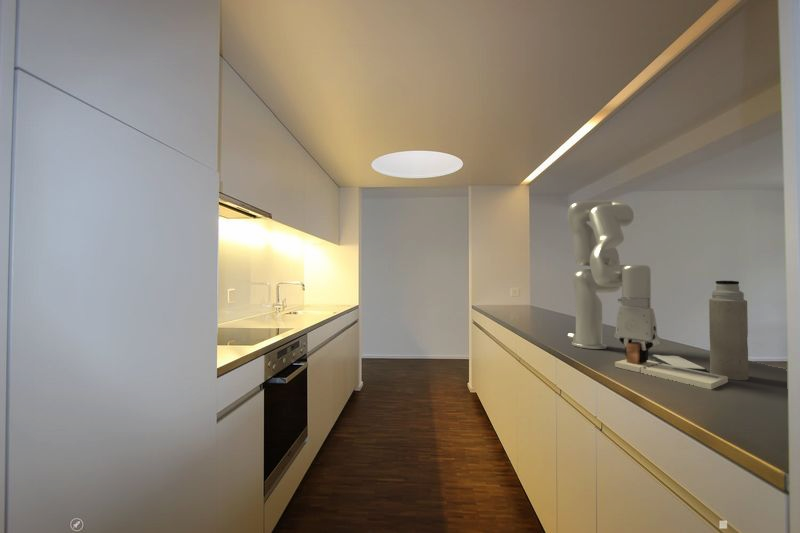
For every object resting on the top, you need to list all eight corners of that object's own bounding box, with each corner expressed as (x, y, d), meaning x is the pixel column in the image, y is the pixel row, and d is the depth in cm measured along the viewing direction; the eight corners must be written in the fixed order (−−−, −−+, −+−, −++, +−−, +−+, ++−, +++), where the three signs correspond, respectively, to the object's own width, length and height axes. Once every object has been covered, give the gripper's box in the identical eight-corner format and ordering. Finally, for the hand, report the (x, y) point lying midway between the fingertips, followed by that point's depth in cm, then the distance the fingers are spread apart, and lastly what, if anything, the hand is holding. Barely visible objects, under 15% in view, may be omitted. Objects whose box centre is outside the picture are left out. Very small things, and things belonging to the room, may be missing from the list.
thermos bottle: (742, 374, 98) (741, 280, 99) (753, 382, 91) (751, 281, 92) (706, 370, 102) (705, 280, 103) (714, 377, 95) (713, 280, 96)
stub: (614, 366, 105) (614, 343, 105) (634, 361, 111) (633, 339, 111) (639, 372, 99) (639, 347, 99) (658, 367, 105) (658, 343, 105)
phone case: (709, 374, 100) (678, 360, 116) (709, 369, 100) (678, 355, 116) (675, 372, 102) (649, 358, 118) (675, 367, 102) (649, 354, 118)
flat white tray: (640, 373, 99) (640, 367, 99) (659, 367, 105) (659, 362, 105) (710, 389, 85) (710, 383, 85) (727, 382, 91) (727, 376, 91)
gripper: (603, 301, 111) (603, 356, 110) (660, 306, 97) (661, 369, 96) (615, 300, 115) (615, 353, 114) (672, 305, 100) (673, 365, 100)
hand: (636, 360), depth 105 cm, fingers closed on stub, 3 cm apart
